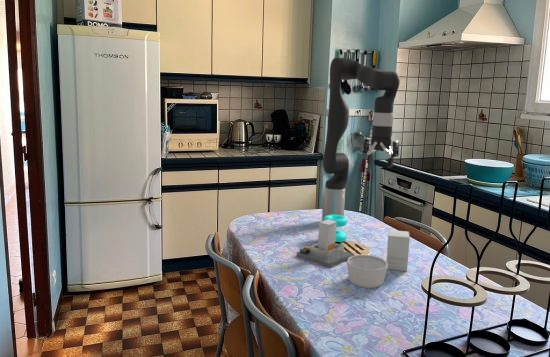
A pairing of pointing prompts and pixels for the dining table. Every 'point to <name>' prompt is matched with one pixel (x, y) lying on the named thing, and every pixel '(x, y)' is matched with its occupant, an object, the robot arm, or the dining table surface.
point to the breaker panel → (325, 255)
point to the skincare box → (327, 235)
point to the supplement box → (398, 250)
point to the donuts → (340, 222)
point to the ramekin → (366, 270)
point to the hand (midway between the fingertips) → (379, 166)
